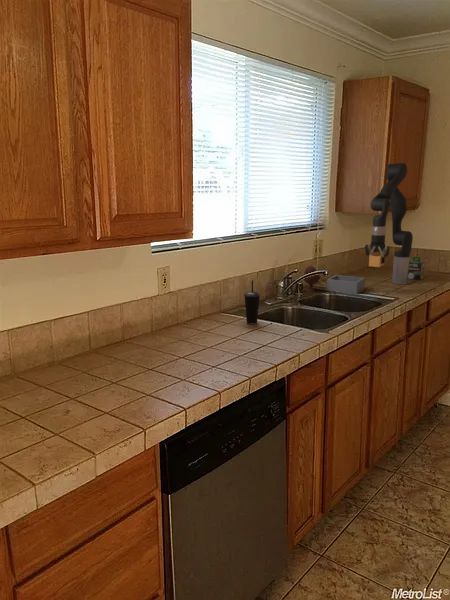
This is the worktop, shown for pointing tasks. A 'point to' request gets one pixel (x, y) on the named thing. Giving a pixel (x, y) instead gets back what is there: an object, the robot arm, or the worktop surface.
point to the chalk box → (416, 269)
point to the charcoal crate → (346, 284)
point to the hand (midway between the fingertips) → (376, 263)
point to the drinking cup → (252, 305)
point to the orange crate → (375, 260)
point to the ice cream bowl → (311, 278)
